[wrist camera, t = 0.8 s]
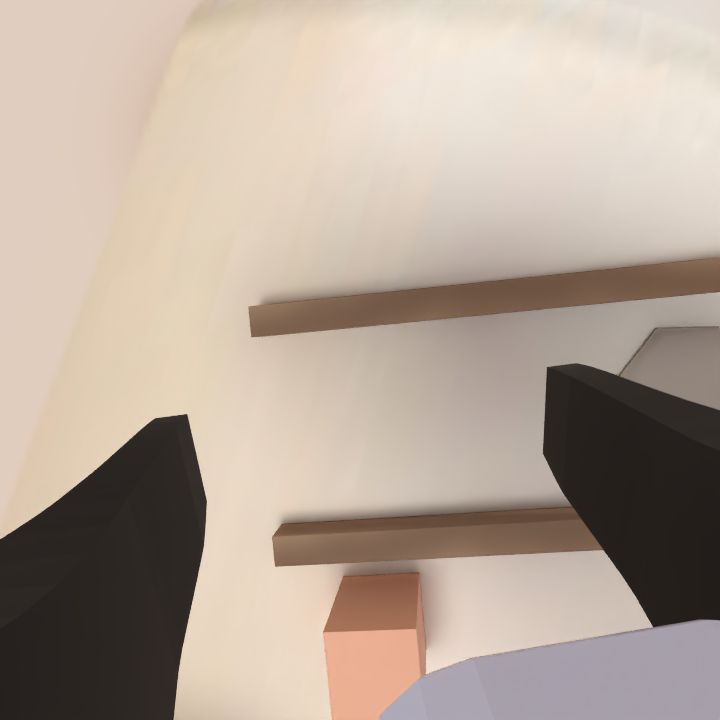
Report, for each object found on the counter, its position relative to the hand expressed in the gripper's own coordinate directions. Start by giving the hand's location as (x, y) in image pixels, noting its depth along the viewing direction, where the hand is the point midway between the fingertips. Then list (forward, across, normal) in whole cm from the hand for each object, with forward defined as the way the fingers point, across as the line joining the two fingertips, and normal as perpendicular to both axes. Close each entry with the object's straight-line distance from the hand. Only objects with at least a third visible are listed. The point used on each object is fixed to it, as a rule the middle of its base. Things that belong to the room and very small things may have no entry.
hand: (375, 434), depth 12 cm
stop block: (+13, -1, +19) cm, 23 cm away
